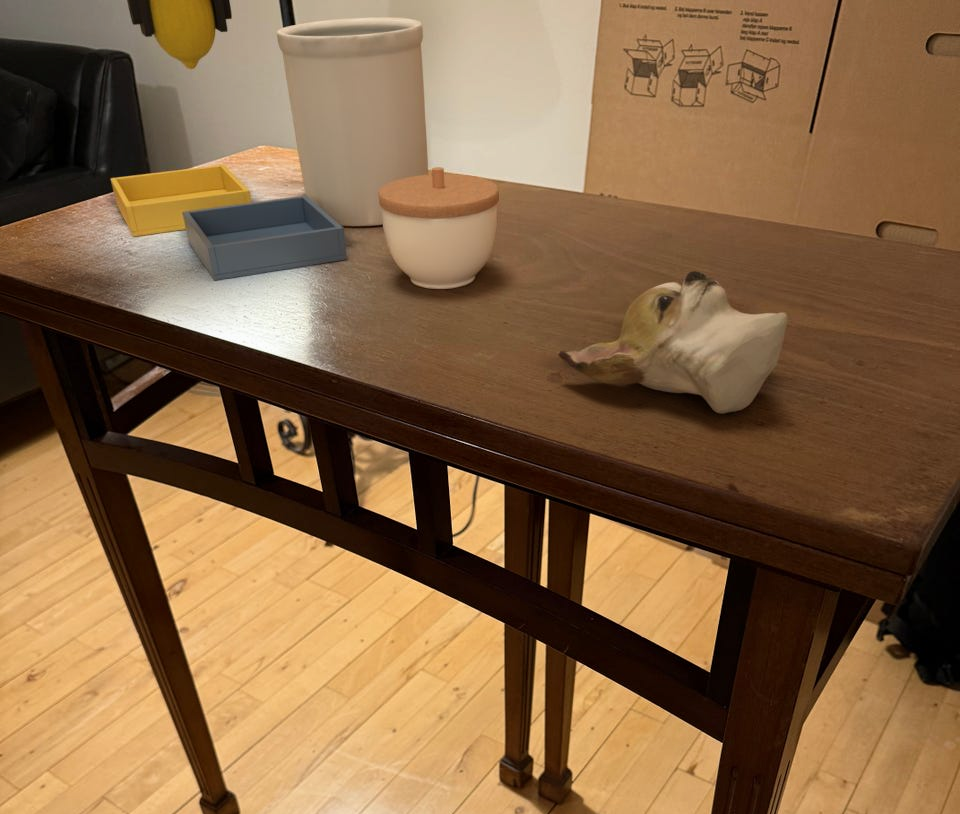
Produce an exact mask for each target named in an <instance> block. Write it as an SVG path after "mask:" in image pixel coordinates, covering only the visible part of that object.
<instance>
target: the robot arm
mask: <svg viewBox="0 0 960 814" xmlns="http://www.w3.org/2000/svg"><path fill="white" fill-rule="evenodd" d="M126 2H127V6H128V11H129V17H130V20H131V24H132V25H133V26H137V25H139V28H140V31H141V34H142V35H143V36H144V37H146V38H151V37H153V36H154V31H153V26H152V21H151V16H150V11H149V6H148V1H147V0H126ZM211 3H212V6H213V10H214V16H215V30H217V31H219V32H220V33H227V32H228V23H227V20H232V19H233V16H232V8H231V1H230V0H211Z"/></svg>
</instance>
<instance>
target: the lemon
mask: <svg viewBox="0 0 960 814" xmlns="http://www.w3.org/2000/svg"><path fill="white" fill-rule="evenodd" d="M147 1H148V6H149V11H150V16H151V21H152V26H153V31H154V35H153V36H154V38H155V40H156V42H157V43H158V45H159V47H161V48H162V50H163V51H164V52H165V53H167V55H169V56H170V57H171V58H173V59H176V60H178V61H179V62H181V64H182V65H184V66H185V68H186V69H189V70H193V69H195V68H196V67H197V65H198V63H199V61H200V60H202V58H204V57H206V55H208V54H209V52H210V51H211V49H212V47H213V45H214V43H215V38H216V29H215V16H214V10H213V6H212V3H211V0H147Z"/></svg>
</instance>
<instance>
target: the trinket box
mask: <svg viewBox="0 0 960 814" xmlns="http://www.w3.org/2000/svg"><path fill="white" fill-rule="evenodd" d="M444 170H445V168H444V167H440V166H438V167H437V166H436V167H431V173H430V174H429V173H428V175H420V176H412V177H407V178H403V179H399V180H396V181H393V182H390V183H388V184H386V185H384V186H383V187H382V188H381V189H380V191H379V193H378V195H379V203H380V206H381V214H382V223H383V225H382V230H383V234H384V238H385V242H386V246H387V248H388V251H389V254H390V256H391V257H392V260H393V261H394V262H395V264H396V265H397V267H398V268H399V269H400V270H401V271H402V273H404V274H405V275H407V276H408V277H409V279H410V282H411V283H412V284H413V285H415V286H418V287H421V288H423V289H424V288H425V289H433V290H446V289H448V290H449V289H455V288H460V287H464V286H466V285H468V284H471V283H473V281H474V280H475V279H476V275H477V274H478V273H479V272H480V271H481V270H482V269H483V268H484V266H485V265H486V264H487V262H488V261H489V259H490V257H491V255H492V252H493V249H494V247H495V242H496V238H497V231H498V222H499V221H498V218H499V217H498V216H499V209H498V208H499V207H498V206H499V201H500V188H499V186H498V185H497V184H496V183H495V182H494V181H492V180H489V179H487V178H483V177H479V176H476V175H469V174H461V173H459V174H458V173H445V171H444Z"/></svg>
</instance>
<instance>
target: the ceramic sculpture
mask: <svg viewBox="0 0 960 814" xmlns="http://www.w3.org/2000/svg"><path fill="white" fill-rule="evenodd" d="M788 322H789V319H788V315H787V313H786V312H778V313H775V312H766V313H756V314H751V313H745V312H741V311H739V310H737V309H735V308H733V307H732V306H731V305H730V303H729V300H728V297H727V292H726V290H725V289H724V287H722V286H721V284H720V283H719V282H718V281H717V280H716V279H715V278H711V277H710V276H707V274H705V273H703V272H700V271H695V270H694V271H693V270H691V271H690V272H688V274H687V275H686V276H685V279H684V281H683V282H682V284H681V283H680V282H679V283H678V282H676V281H671V282H665V283H662V284H659V285H656V286H654V287H652V288H649V289H647V290H645V291H644V292H643V293H641V294H640V295H639V296H637V297H636V298H635V299H634V300H633V301H632V302H631V303H630V305H629V306H628V307H627V309H626V311H625V314H624V316H623V319H622V325H621V330H620V335H619V337H618V339H616V340H615V341H610V342H599V343H594V344H591V345H589V346H586V347H585V348H582V349H580V350H560V351H557V355H558V357H559V358H560V359H561V360H562V361H563V362H565V363H566V364H567V365H569V366H570V367H571V368H573V369H574V370H576V371H577V372H579V373H581V374H582V375H584V376H586V377H588V378H591V379H592V380H594V381H596V382H598V383H602V384H606V385H617V386H618V385H634V384H640V386H643V387H646V388H649V389H651V390H655V391H660V392H665V393H666V392H667V393H673V394H685V393H686V394H692V395H699V396H701V397H702V398H703V399H704V400H705V401H706V403H707V404H708V405H709V407H710V408H711V409H712V411H714V412H715V413H717V414H723V415H724V414H726V413H732V412H733V413H735V412H738V411H742V410H744V409H745V408H747V407H748V406H750V404H752V402H753V401H754V399H755V398H756V396H757V395H758V394H759V391H760V390H761V388H762V386H763V385H764V382H765V381H766V379H767V378H768V377H769V376H770V374H771V373H772V372H773V370H774V369H775V368H776V367H777V365H778V361H779V357H780V354H781V351H782V347H783V343H784V338H785V334H786V330H787V329H786V328H787V325H788Z"/></svg>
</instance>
